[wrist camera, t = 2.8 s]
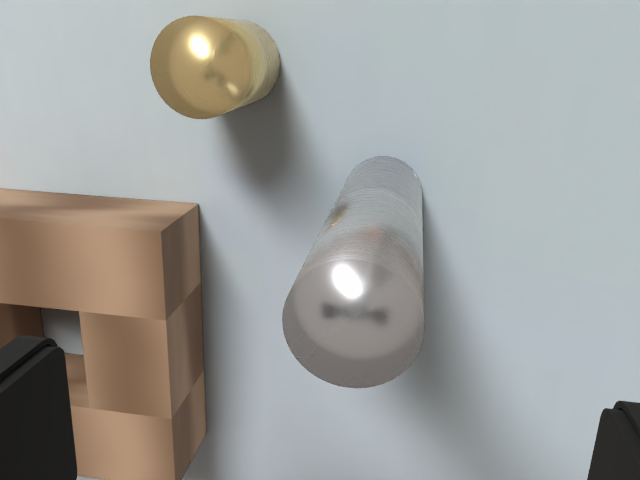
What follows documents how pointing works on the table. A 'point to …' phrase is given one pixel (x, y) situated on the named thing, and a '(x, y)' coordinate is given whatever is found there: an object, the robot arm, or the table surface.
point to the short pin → (213, 65)
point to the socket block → (114, 321)
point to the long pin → (363, 281)
